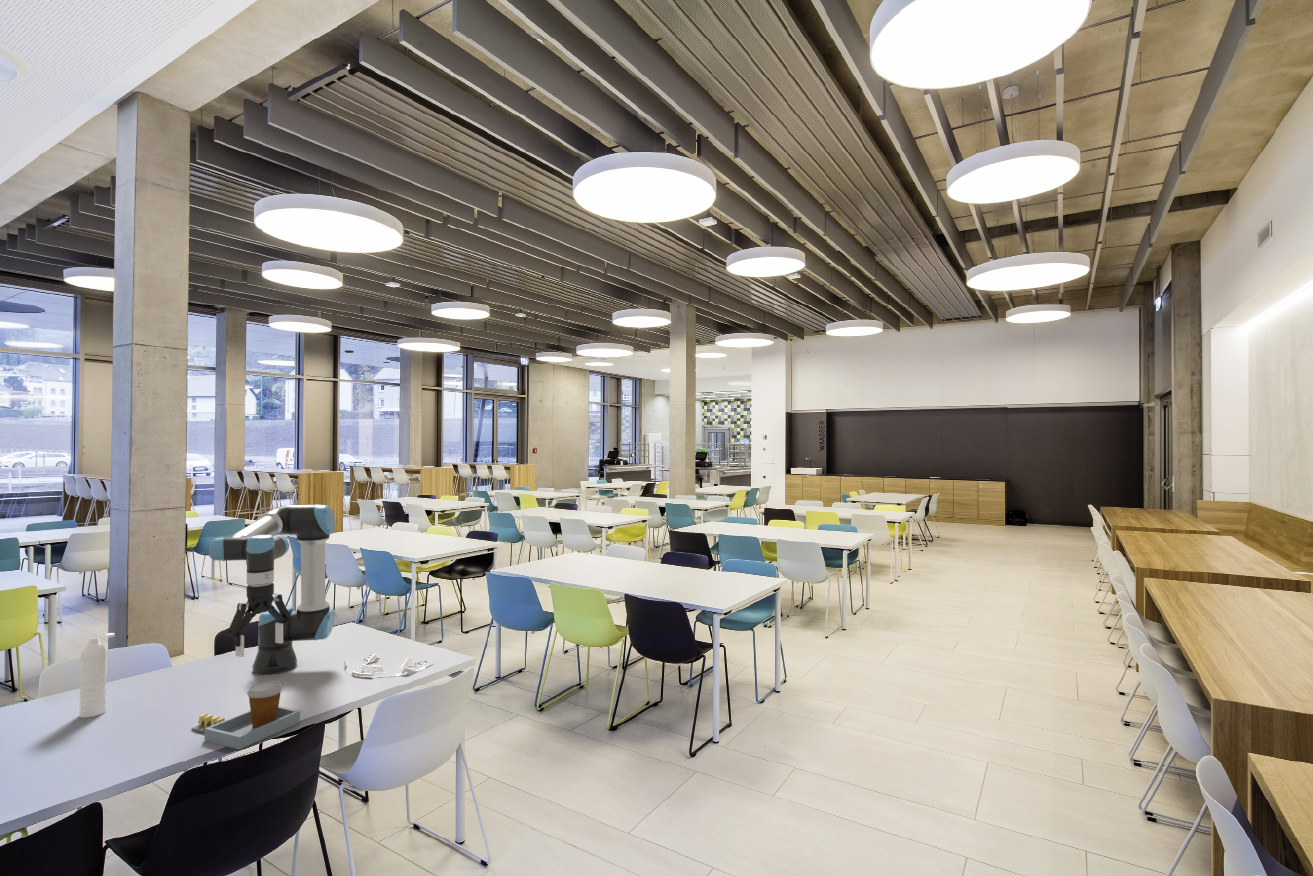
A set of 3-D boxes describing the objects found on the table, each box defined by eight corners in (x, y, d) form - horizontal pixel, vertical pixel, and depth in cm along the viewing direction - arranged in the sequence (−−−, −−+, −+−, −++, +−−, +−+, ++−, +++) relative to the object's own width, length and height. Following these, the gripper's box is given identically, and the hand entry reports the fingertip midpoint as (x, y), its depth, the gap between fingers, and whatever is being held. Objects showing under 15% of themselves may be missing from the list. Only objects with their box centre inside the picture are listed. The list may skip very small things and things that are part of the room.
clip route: (190, 730, 197) (190, 718, 197) (210, 722, 203) (210, 710, 203) (214, 736, 193) (214, 723, 193) (234, 728, 199) (234, 716, 199)
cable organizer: (438, 663, 261) (438, 654, 261) (399, 684, 238) (399, 674, 238) (367, 654, 271) (367, 646, 271) (323, 674, 248) (323, 665, 248)
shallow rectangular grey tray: (204, 740, 190) (204, 728, 190) (266, 714, 209) (267, 703, 209) (239, 749, 185) (239, 737, 185) (300, 722, 204) (300, 710, 204)
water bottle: (85, 719, 204) (87, 641, 204) (75, 715, 207) (76, 638, 207) (118, 709, 212) (119, 634, 212) (107, 706, 215) (109, 631, 215)
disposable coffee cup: (256, 733, 194) (257, 694, 194) (240, 726, 199) (241, 687, 199) (288, 722, 202) (288, 684, 202) (271, 715, 207) (272, 678, 207)
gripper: (230, 594, 193) (230, 664, 193) (302, 576, 216) (302, 639, 216) (213, 591, 195) (213, 660, 196) (286, 574, 219) (286, 636, 219)
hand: (260, 649), depth 206 cm, fingers open, 13 cm apart
